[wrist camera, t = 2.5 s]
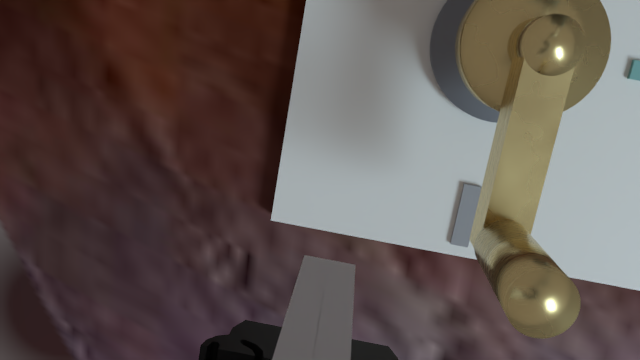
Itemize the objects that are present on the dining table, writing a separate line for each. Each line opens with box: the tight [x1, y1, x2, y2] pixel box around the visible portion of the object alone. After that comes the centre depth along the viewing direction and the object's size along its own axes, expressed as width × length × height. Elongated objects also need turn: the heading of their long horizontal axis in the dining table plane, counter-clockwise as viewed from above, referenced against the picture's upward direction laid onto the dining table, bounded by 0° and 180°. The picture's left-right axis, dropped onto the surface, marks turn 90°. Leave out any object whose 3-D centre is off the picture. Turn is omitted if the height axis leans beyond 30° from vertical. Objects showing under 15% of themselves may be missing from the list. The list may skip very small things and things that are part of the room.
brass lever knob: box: [455, 0, 611, 338], centre depth 24 cm, size 13×6×11 cm, turn 170°
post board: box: [271, 0, 640, 291], centre depth 31 cm, size 24×22×5 cm
